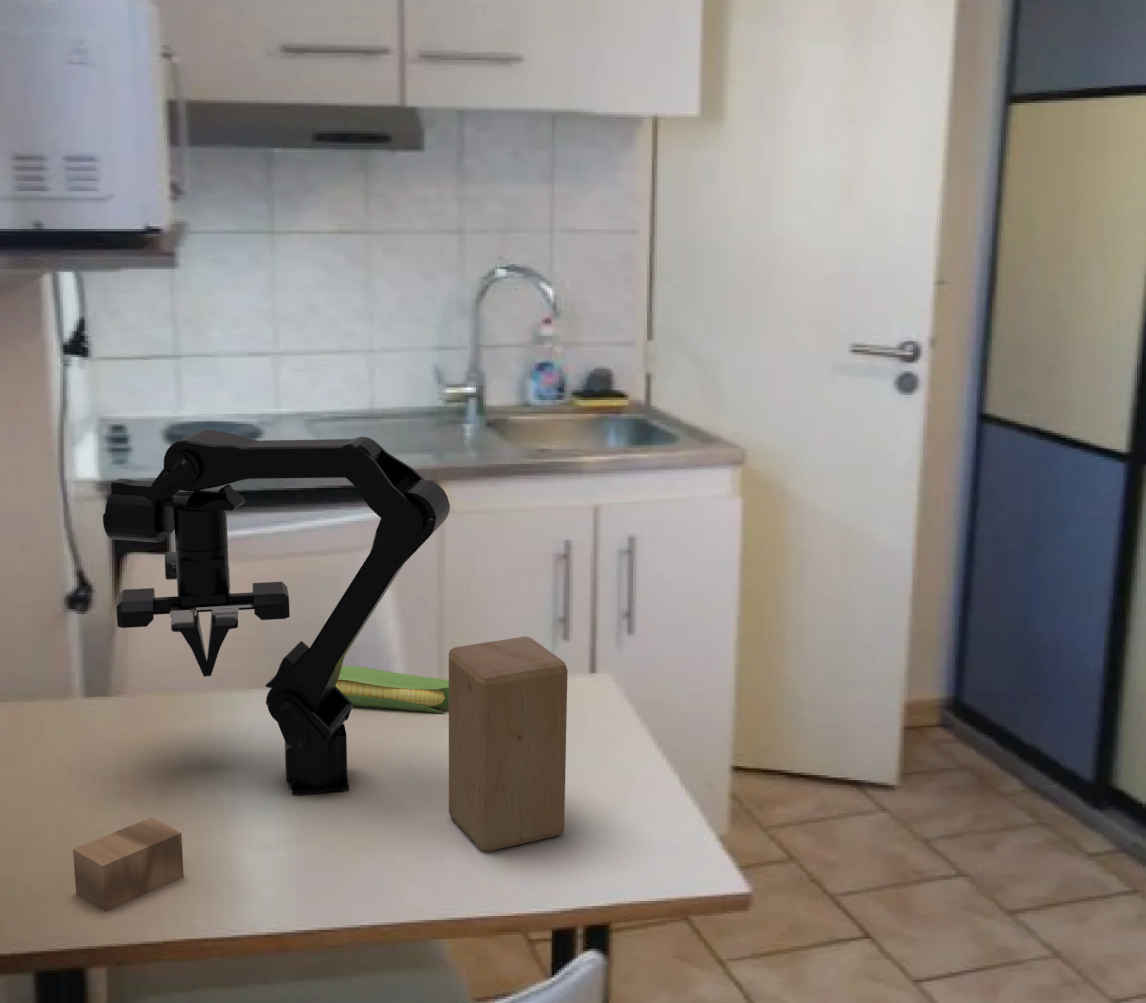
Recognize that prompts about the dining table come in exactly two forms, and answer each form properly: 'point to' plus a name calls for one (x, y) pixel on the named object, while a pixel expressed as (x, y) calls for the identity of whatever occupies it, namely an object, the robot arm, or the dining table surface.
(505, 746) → the wooden block
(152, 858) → the walnut block
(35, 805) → the dining table surface
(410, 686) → the edible corn
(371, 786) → the dining table surface
